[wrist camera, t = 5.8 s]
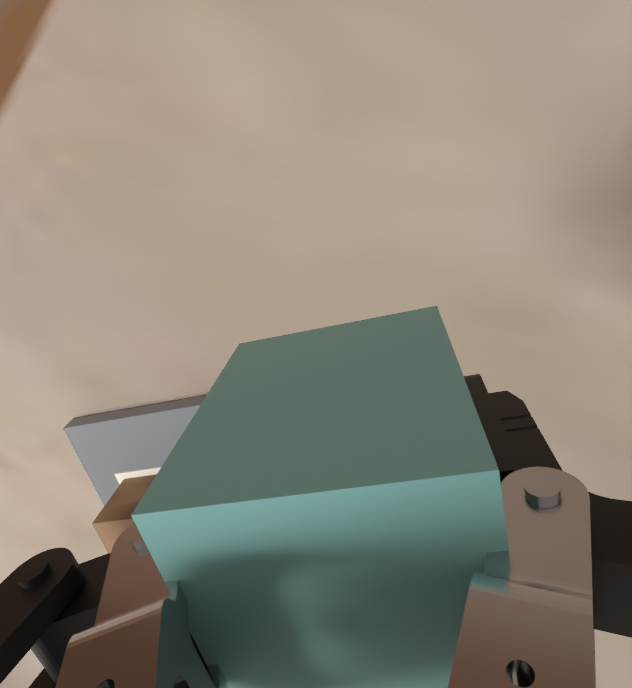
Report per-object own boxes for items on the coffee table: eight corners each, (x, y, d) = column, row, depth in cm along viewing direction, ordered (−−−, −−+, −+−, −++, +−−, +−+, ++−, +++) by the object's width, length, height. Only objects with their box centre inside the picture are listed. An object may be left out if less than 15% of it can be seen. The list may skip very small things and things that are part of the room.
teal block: (437, 305, 11) (498, 469, 6) (463, 474, 13) (530, 719, 8) (239, 344, 12) (131, 515, 7) (290, 495, 14) (238, 726, 9)
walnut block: (219, 465, 31) (199, 510, 27) (251, 545, 33) (237, 595, 30) (123, 479, 32) (92, 523, 28) (161, 554, 34) (137, 604, 31)
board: (333, 372, 28) (331, 383, 27) (383, 565, 34) (384, 580, 33) (73, 418, 32) (62, 429, 31) (160, 585, 38) (153, 600, 37)
